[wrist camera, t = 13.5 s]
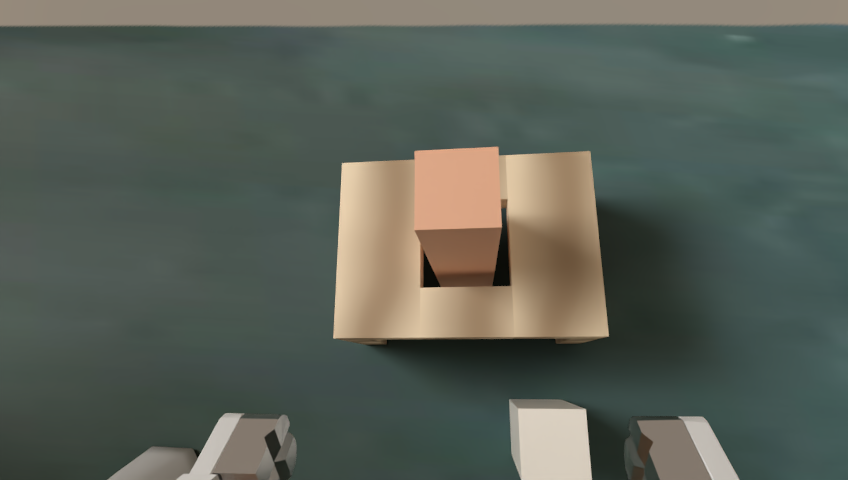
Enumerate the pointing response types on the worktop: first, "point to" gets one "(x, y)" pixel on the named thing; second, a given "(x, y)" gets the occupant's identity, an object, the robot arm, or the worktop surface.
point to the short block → (549, 440)
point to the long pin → (459, 213)
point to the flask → (158, 464)
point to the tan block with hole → (472, 306)
